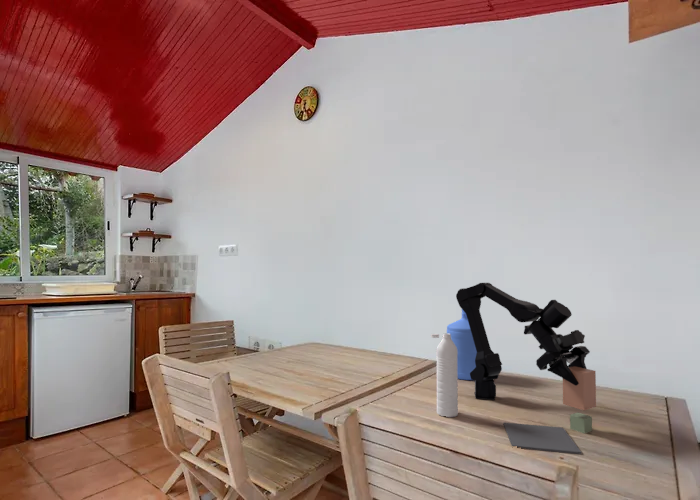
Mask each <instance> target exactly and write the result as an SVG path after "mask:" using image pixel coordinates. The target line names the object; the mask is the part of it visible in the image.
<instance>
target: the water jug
mask: <svg viewBox="0 0 700 500" xmlns="http://www.w3.org/2000/svg"><path fill="white" fill-rule="evenodd" d="M446 333H448V334H451V339H452V341H453V342H454V344H455V346H456V347H457V351H458V354H457V366H458V367H457V369H458V370H457V371H458V372H457V374H458V380H462V381H464V380H465V381H473V380H472V379H471V376H470V373H471V372H472V371H473V370H474V369H475V368H476V364H475V358H476V354H477V351H476V347H475V344H474V340H473V337H472V333H471V330H470V326H469V322H468V319H467V315H466V313H465V312H464V311H463V309H462V308H461V318H460V319H458V320H456V321H453V322H451V323H449V324H447V326H446Z"/></svg>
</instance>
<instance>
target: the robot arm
mask: <svg viewBox="0 0 700 500" xmlns="http://www.w3.org/2000/svg"><path fill="white" fill-rule="evenodd" d="M485 297H486V298H488V299H489V300H491V301H493V302H494V303H496V304H498V305H499V306H501V307H503V308H504V309H506V310H507V311H508V312H509V315H511V316H512V317H513V318H514V319H515V320H516V321H517V322H519V323H530V324H528V325H524V330H523V334H524V335H531V334H532V336H533V337H534V339H535V340H536V341H537V343H539V346H538V348H539V349H540V350H544V351H545V352H544V353H543V354H542V355H541V356H539V357H538V358H537V359H536V361H535V362H536V366H537V367H538V369H539V370H540V371H545V370H547V372H550V373H553V374H555V375H556V376H558V377H560V378H562V380H563V379H565V380H567V381H569V382H570V383H572V384H574V385H575V386H576V385H578V384H579V383H578V381H577V379H576V378H575V376H574V375H573V373H572V372H571V370H570V369H569V367H573V366H576V367H580V368H585V369H588V368H587V366H586V363H585V360H586V359H585V358H586V357H587V355H589V354H590V352H591V350H589V349H588V347H587V346H586V345H585V346H584V345H579V344H585V337H586V336H585V334H583V332H582V331H580V330H579V329H575V330H573V331H571V332H570V333H568V334H564V335H563V334H561V333H558V334H557V333H556V332H555V330H554V329H558V328H560V327H561V326H562V325H563V324H565V322H566V321H568V319H570V318H571V316H572V315H573V314H572V311H571V310H570V309H569V307H567V306H566V305H564V304H563V303H561V302H559V301H558V300H556V299H551V300H550V301H549V302H548V303H547V304H546V305H545V306H544V308H540V307H539V306H538V305H537V304H536V303H533V302H530V301H527V300H523V299H518V298H516V297H514V296H512V295H510V294H509V293H507V292H505V291H503V290H501V289H500V288H497V286H494V285H493V284H492V283H490V282H479V283H476V284H475V285H473V286H469V287H466V288H460V289H458V290H457V293H456V300H457V303H458V305H459V307H460V308H461V310H462V309H463V311H464V312H465V313H466V315H467V319H468V322H469V326H470V330H471V333H472V337H473V340H474V344H475V347H476V351H477V354H476V358H475V364H476V368H475V369H474V370H473V371H472V372H471V373H470V376H471V379H472V380H471V381H474V396H475V397H474V398H475V400H476V399H477V400H478V399H479V400H491V401H495V400H496V397H497V385H496V383H495V380H498V379H499V375H500V374H501V372H502V370H503V367H502V365H503V363H502V361H501V359H500V354H499V352H496V353H495V352H494V351H493V350H492V349H491V345H490V343H489V342H490V341H489V338H488V335H487V332H486V329H485V325H484V322H483V321H484V320H483V318H482V314H481V312H480V308H481V306H482V305H481V304H482V300H481V299H483V298H485ZM575 345H579V346H575Z"/></svg>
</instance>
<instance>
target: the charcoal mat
mask: <svg viewBox="0 0 700 500" xmlns="http://www.w3.org/2000/svg"><path fill="white" fill-rule="evenodd" d="M503 426H504V429H505V431H506V434H507V436H508V440H509V443H510V445H511V447H512V446H517V447H521V448H520V449H523V448H526V449H525V450H532V451H533V450H535V451H545V452H555V453H565V454H574V455H582V451H581V450H580V448H579V447H578V445H577V444H576V443H575V441H574V440H573V439H572V438H571V436H570V435H569V434H568V433H567V431H566V429H565V428H564V427H560V426H549V425H537V424H528V423H527V424H526V423H515V422H506V421H505V422H504V421H503Z"/></svg>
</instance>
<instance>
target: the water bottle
mask: <svg viewBox="0 0 700 500" xmlns="http://www.w3.org/2000/svg"><path fill="white" fill-rule="evenodd" d="M430 338H433V339H437V338H440V334H439V333H431V334H430ZM435 350H436V351H435V352H436V414H437V415H438V414H439V415H438V416H441V417H443V416H446V418H455V417H457V416H458V415H459V406H458V404H459V403H458V402H459V401H458V397H459V395H458V394H459V393H458V389H459V388H458V383H459V382H458V381H459V379H458V374H457V372H458V371H457V370H458V369H457V367H458V366H457V354H458V351H457V347H456V346H455V344H454V342H453V341H452V339H451V334H448V333H447V332H446V333H443V334H442V339H441V341H440V342H439V343H438V344H437V347H436V349H435Z"/></svg>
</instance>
